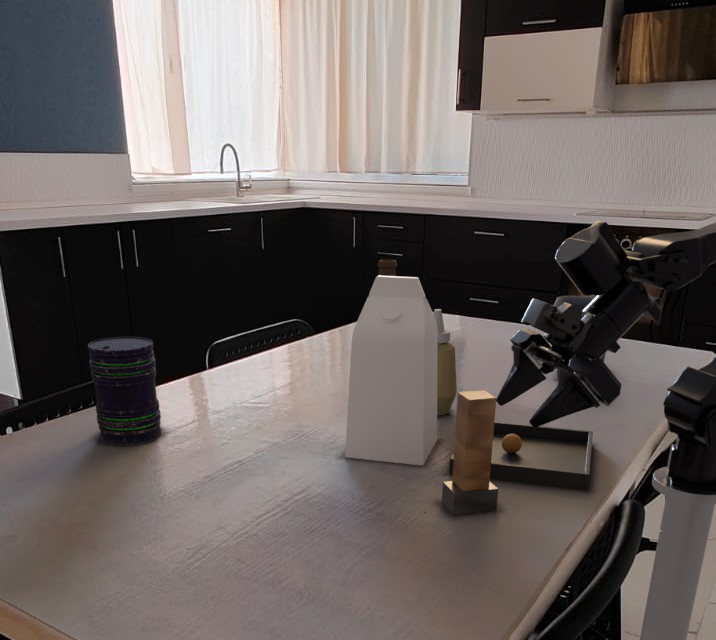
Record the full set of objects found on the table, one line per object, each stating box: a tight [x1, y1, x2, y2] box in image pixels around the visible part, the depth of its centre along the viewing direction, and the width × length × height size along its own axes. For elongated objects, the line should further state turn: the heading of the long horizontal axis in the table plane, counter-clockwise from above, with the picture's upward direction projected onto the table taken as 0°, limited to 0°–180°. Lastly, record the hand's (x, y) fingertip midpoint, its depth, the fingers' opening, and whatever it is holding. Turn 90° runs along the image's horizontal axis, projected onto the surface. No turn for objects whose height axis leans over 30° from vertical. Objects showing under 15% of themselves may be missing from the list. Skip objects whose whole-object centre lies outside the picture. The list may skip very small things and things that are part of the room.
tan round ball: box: [502, 434, 522, 454], centre depth 116 cm, size 3×3×3 cm
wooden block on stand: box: [441, 389, 499, 516], centre depth 97 cm, size 6×4×15 cm, turn 106°
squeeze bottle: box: [433, 308, 458, 416], centre depth 134 cm, size 8×8×18 cm
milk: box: [344, 274, 438, 466], centre depth 115 cm, size 12×12×26 cm
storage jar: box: [87, 336, 163, 446], centre depth 122 cm, size 10×10×15 cm
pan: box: [448, 421, 594, 491], centre depth 116 cm, size 19×19×2 cm
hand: (514, 413), depth 97 cm, fingers open, 9 cm apart
